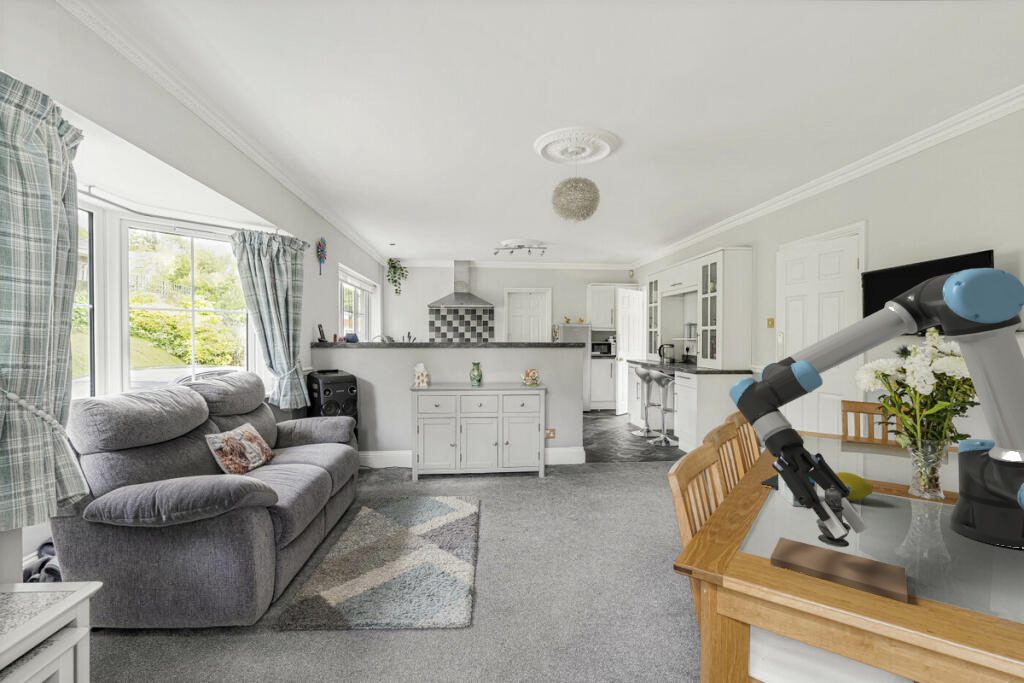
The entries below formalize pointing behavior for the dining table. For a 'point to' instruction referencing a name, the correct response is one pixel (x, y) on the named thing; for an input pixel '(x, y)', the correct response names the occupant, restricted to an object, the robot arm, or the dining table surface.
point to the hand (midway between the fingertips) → (852, 532)
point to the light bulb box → (787, 493)
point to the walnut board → (842, 568)
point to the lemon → (855, 486)
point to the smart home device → (772, 482)
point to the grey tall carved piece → (835, 504)
